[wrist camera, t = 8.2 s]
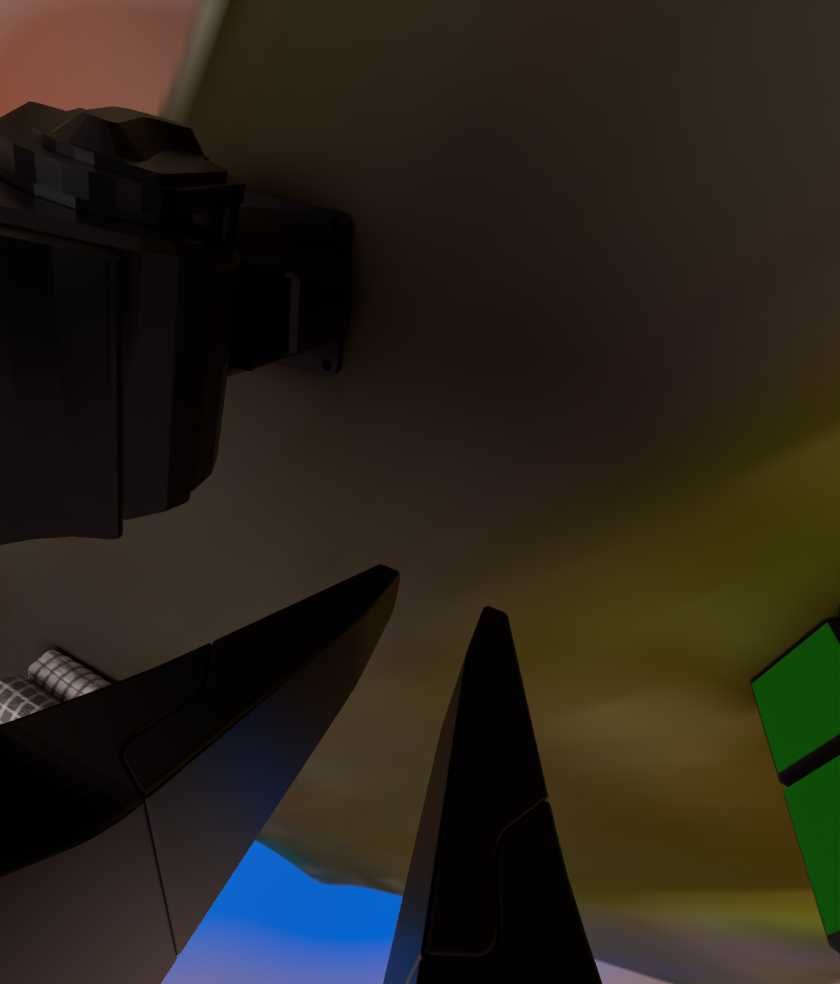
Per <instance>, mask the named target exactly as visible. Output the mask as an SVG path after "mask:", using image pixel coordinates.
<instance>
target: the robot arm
mask: <svg viewBox="0 0 840 984" xmlns="http://www.w3.org/2000/svg"><path fill="white" fill-rule="evenodd" d="M227 172H228V171H227V170H225V169H223V168H221V167H219V166H217V165H215V164H213V163H211V162H209V158H208V157H206V156H204V154H203V152H202V150H201V148H200V146H199V144H198V142H197V140H196V137H195V135H194V133H193V131H192V129H191V128H189V127H187V126H184V125H182V124H180V123H177V122H175V121H172V120H169V119H165V118H161V117H158V116H154V115H150V114H147V113H143V112H139V111H135V110H131V109H127V108H121V107H105V108H97V109H88V110H86V109H82V108H77V109H73V110H70V111H64V110H61V109H57V108H54V107H50V106H47V105H43V104H39V103H36V102H27V103H26V104H24V105H22V106H20V107H18V108H17V109H15V110H13V111H11V112H10V113H8V114H6V115H4V116H2V117H0V545H3V544H9V543H14V542H20V541H25V540H31V539H41V538H56V537H71V536H75V537H88V538H101V539H117V538H119V537H121V536H122V534H123V520H129V519H134V518H138V517H143V516H147V515H152V514H156V513H161V512H164V511H167V510H169V509H172V508H174V507H176V506H179V505H181V504H184V503H186V502H187V501H188V500H189V498H190V492H191V491H193V490H194V489H196V488H197V487H198V486H199V485H200V484H201V483H202V482H203V481H204V480H205V479H206V478H207V477H208V476H210V475H211V473H212V470H213V468H214V465H215V462H216V459H217V454H218V446H219V438H220V430H221V422H222V414H223V406H224V398H225V389H226V381H227V377H229V376H232V375H234V374H237V373H240V372H243V371H251V370H254V369H257V368H260V367H263V366H265V365H268V364H271V363H274V362H279V363H282V364H285V365H289V366H292V367H296V368H299V369H302V370H306V371H309V372H313V373H316V374H320V375H323V376H328V377H330V376H332V375H335V374H337V373H338V372H339V371H340V368H341V361H342V349H343V339H344V338H345V337H346V336H347V334H348V324H349V313H350V301H351V290H352V279H353V275H352V273H351V271H350V269H349V268H350V257H351V245H352V233H353V222H352V220H351V217H350V216H349V215H348V214H347V213H346V212H343V211H340V210H335V209H330V208H325V207H320V206H315V205H311V204H306V203H301V202H296V201H291V200H286V199H282V198H277V197H272V196H267V195H262V194H257V193H253V192H248V191H245V186H246V183H245V182H243V181H241V180H238V179H236V178H234V177H232V176H229V175H227ZM338 219H340V220H341V222H342V226H343V227H342V230H341V231H340V232H338V230H337V229H336V221H337V220H338ZM326 360H329V361H330V362H331V365H332V368H331V369H330V368H328V367H327V365H326ZM399 581H400V573H399V571H397V570H395V569H392V568H390V567H387V566H385V565H377V566H374V567H372V568H370V569H368V570H366V571H364V572H362V573H359V574H357V575H355V576H353V577H351V578H349V579H346V580H344V581H342V582H340V583H338V584H336V585H334V586H331V587H329V588H327V589H325V590H323V591H321V592H318V593H316V594H314V595H312V596H310V597H308V598H305V599H303V600H301V601H299V602H297V603H295V604H293V605H290V606H288V607H286V608H284V609H282V610H280V611H277V612H275V613H273V614H271V615H269V616H267V617H265V618H262V619H260V620H258V621H256V622H254V623H252V624H249V625H247V626H245V627H243V628H241V629H239V630H236V631H234V632H232V633H230V634H228V635H226V636H224V637H221V638H219V639H217V640H215V641H214V642H213V645H212V644H210V643H208V644H206V645H204V646H202V647H199V648H197V649H195V650H193V651H191V652H189V653H186V654H184V655H182V656H180V657H177V658H175V659H173V660H170V661H168V662H166V663H164V664H161V665H159V666H157V667H154V668H152V669H149V670H147V671H144V672H142V673H139V674H137V675H134V676H131V677H129V678H126V679H124V680H121V681H119V682H116V683H113V684H111V685H108V686H105V687H103V688H100V689H97V690H94V691H92V692H89V693H86V694H83V695H81V696H78V697H75V698H73V699H70V700H67V701H64V702H62V703H59V704H56V705H53V706H51V707H48V708H45V709H42V710H40V711H37V712H34V713H32V714H29V715H26V716H23V717H21V718H18V719H15V720H12V721H9V722H6V723H3V724H0V984H161V982H162V981H163V979H164V978H165V976H166V975H167V973H168V972H169V970H170V969H171V967H172V965H173V964H174V963H175V961H176V959H177V955H179V954H180V953H181V952H182V950H183V949H184V947H185V946H186V944H187V942H188V941H189V939H190V938H191V936H192V935H193V933H194V932H195V930H196V929H197V927H198V926H199V924H200V923H201V921H202V920H203V918H204V917H205V915H206V914H207V912H208V911H209V909H210V908H211V906H212V905H213V903H214V901H215V900H216V898H217V897H218V895H219V894H220V892H221V891H222V889H223V888H224V886H225V885H226V883H227V882H228V880H229V878H230V877H231V876H232V874H233V873H234V871H235V869H236V868H237V866H238V865H239V863H240V862H241V860H242V859H243V857H244V856H245V854H246V853H247V851H248V850H249V848H250V847H251V845H252V844H253V842H254V841H255V839H256V838H257V836H258V835H259V833H260V831H261V830H262V828H263V827H264V825H265V824H266V822H267V821H268V819H269V818H270V816H271V815H272V813H273V812H274V810H275V809H276V807H277V806H278V804H279V803H280V801H281V800H282V798H283V796H284V795H285V793H286V792H287V790H288V789H289V787H290V786H291V784H292V783H293V781H294V780H295V778H296V777H297V775H298V774H299V772H300V771H301V769H302V768H303V766H304V765H305V763H306V761H307V760H308V758H309V757H310V755H311V754H312V752H313V751H314V749H315V748H316V746H317V745H318V743H319V742H320V740H321V739H322V737H323V736H324V734H325V733H326V731H327V730H328V728H329V726H330V725H331V723H332V722H333V720H334V719H335V717H336V716H337V714H338V713H339V711H340V710H341V708H342V707H343V705H344V704H345V702H346V701H347V699H348V698H349V696H350V694H351V693H352V691H353V689H354V688H355V686H356V684H357V682H358V680H359V678H360V677H361V675H362V673H363V671H364V669H365V667H366V665H367V663H368V661H369V659H370V657H371V655H372V653H373V651H374V649H375V647H376V645H377V643H378V641H379V639H380V637H381V635H382V633H383V631H384V629H385V627H386V625H387V623H388V621H389V619H390V616H391V614H392V612H393V609H394V605H395V601H396V596H397V591H398V586H399ZM547 800H548V793H547V788H546V784H545V779H544V775H543V770H542V766H541V761H540V757H539V753H538V748H537V744H536V739H535V735H534V730H533V726H532V721H531V717H530V713H529V708H528V704H527V699H526V695H525V690H524V686H523V681H522V677H521V673H520V668H519V664H518V659H517V655H516V650H515V646H514V641H513V637H512V632H511V628H510V624H509V619H508V616H507V614H506V613H505V612H502V611H500V610H497V609H495V608H492V607H490V606H485V607H484V608H483V610H482V613H481V615H480V618H479V621H478V623H477V626H476V628H475V631H474V633H473V636H472V639H471V641H470V644H469V646H468V649H467V652H466V655H465V658H464V662H463V665H462V668H461V671H460V674H459V677H458V680H457V683H456V686H455V689H454V692H453V695H452V698H451V701H450V704H449V707H448V710H447V713H446V716H445V719H444V722H443V725H442V729H441V733H440V737H439V741H438V745H437V749H436V754H435V758H434V763H433V767H432V771H431V776H430V780H429V784H428V789H427V793H426V798H425V802H424V806H423V811H422V815H421V820H420V824H419V828H418V833H417V837H416V841H415V846H414V850H413V855H412V859H411V863H410V868H409V872H408V877H407V881H406V885H405V890H404V894H403V899H402V903H401V907H400V912H399V916H398V920H397V925H396V929H395V934H394V938H393V942H392V947H391V951H390V956H389V960H388V965H387V969H386V973H385V978H384V982H383V984H602V982H601V978H600V975H599V973H598V969H597V966H596V963H595V960H594V957H593V954H592V951H591V948H590V945H589V942H588V939H587V936H586V933H585V930H584V927H583V924H582V920H581V917H580V914H579V911H578V907H577V904H576V901H575V898H574V895H573V891H572V888H571V885H570V882H569V878H568V875H567V871H566V867H565V863H564V859H563V855H562V851H561V847H560V843H559V839H558V836H557V832H556V827H555V823H554V818H553V814H552V809H551V805H550V803H549V802H547Z"/></svg>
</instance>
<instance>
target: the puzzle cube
mask: <svg viewBox="0 0 840 984" xmlns="http://www.w3.org/2000/svg"><path fill="white" fill-rule="evenodd" d="M751 687H752V691H753V694H754V698H755V701H756V704H757V708H758V711H759V714H760V718H761V721H762V724H763V728H764V731H765V735H766V738H767V741H768V745H769V748H770V751H771V755H772V758H773V761H774V765H775V768H776V771H777V775H778V778H779V781H780V783H782V784H783V785H785V786H787V787H788V788H786V789H784V790H783V793H784V797H785V801H786V804H787V808H788V811H789V814H790V817H791V821H792V824H793V827H794V831H795V834H796V837H797V841H798V844H799V847H800V850H801V854H802V857H803V860H804V864H805V867H806V870H807V874H808V877H809V880H810V883H811V887H812V890H813V893H814V897H815V900H816V903H817V907H818V910H819V913H820V916H821V920H822V923H823V926H824V930H825V933H826V936H827V940H828V943H829V946H831V947H832V948H833V949H834V950H836V951H837V952H838V953H839V954H840V620H832V621H828V622H826V623H825V624H824V625H823V626H821V627H820V628H819V629H818V630H816V631H815V632H814V633H813V634H812V635H810V636H809V637H808V638H807V639H805V640H804V641H803V642H802V643H801V644H799V645H798V646H797V647H796V648H794V649H793V650H792V651H791V652H790V653H788V654H787V655H786V656H785V657H783V658H782V659H781V660H780V661H779V662H777V663H776V664H775V665H774V666H772V667H771V668H770V669H769V670H768V671H766V672H765V673H764V674H763V675H761V676H760V677H759V678H758V679H757V680H755V681H754V682H753V683H752V684H751Z"/></svg>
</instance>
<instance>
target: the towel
mask: <svg viewBox="0 0 840 984" xmlns="http://www.w3.org/2000/svg"><path fill="white" fill-rule="evenodd" d="M28 671H29V674H28V676H29V677H28V678H29V679H28V680H27V679H25V678H23V677H20V676H14V677H9V678H4V679H3V680H1V681H0V724H3V723H6V722H9V721H12V720H15V719H18V718H21V717H23V716H26V715H29V714H32V713H34V712H37V711H40V710H42V709H45V708H48V707H51V706H53V705H56V704H59V703H62V702H64V701H67V700H70V699H73V698H75V697H78V696H81V695H83V694H86V693H89V692H92V691H94V690H97V689H100V688H103V687H105V686H108V685H111V683H109V682H108V681H106V680H104V679H103V678H102V677H100V676H98V675H96V674H94V673H93V672H92V671H91V670H89V669H86V668H85V667H84V666H82V665H81V664H79V663H76V662H75V661H73V660H72V659H71V658H69V657H67V656H64V655H62V654H61V653H60V652H57V651H55V650H48V651H46V652H45V653H44V655H43V656H42V657H41V658H39V659H38V660H37V661H36V662H34V663H33V664H31V665H30V666H29V669H28Z"/></svg>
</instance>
